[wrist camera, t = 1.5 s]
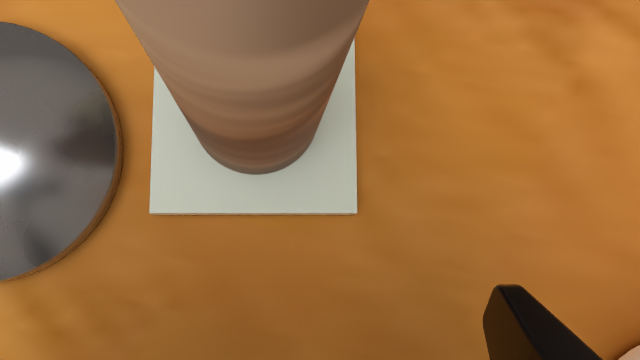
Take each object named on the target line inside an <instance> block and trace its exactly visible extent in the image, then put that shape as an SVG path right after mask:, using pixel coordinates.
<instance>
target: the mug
mask: <svg viewBox="0 0 640 360" xmlns="http://www.w3.org/2000/svg"><path fill="white" fill-rule="evenodd" d="M618 360H640V345H639V346H637V347H635V348H633V349H631V350H630V351H628V352H627V353H626V354H624V355H623V356H622V357H620V358H619V359H618Z"/></svg>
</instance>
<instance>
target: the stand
mask: <svg viewBox="0 0 640 360" xmlns="http://www.w3.org/2000/svg"><path fill="white" fill-rule="evenodd" d="M149 213H150V214H153V215H354V214H356V213H357V166H356V104H355V43H354V40H353V42H352V44H351V47H350V49H349V52H348V54H347V57H346V59H345V62H344V64H343V67H342V69H341V72H340V74H339V77H338V79H337V82H336V84H335V87H334V89H333V91H332V94H331V96H330V99H329V101H328V104H327V106H326V109H325V111H324V114H323V116H322V119H321V121H320V124H319V126H318V129H317V131H316V133H315V136H314V138H313V140H312V142H311V144H310V146H309V147H308V149H307V150H306V151H305V152H304V154H303V155H302V156H301V157H300V158H299V159H298V160H296V161H295V162H294V163H292V164H291V165H289V166H287V167H286V168H284V169H281V170H279V171H276V172H273V173H268V174H261V175H250V174H244V173H239V172H236V171H233V170H231V169H228V168H226V167H224V166H223V165H221V164H219V163H218V162H217V161H215V160H214V159H213V158H212V157H211V156H210V155H209V154H208V153H207V152H206V151H205V149H204V148H203V147H202V145H201V144H200V142H199V140H198V139H197V137H196V135H195V133H194V132H193V130H192V128H191V127H190V125H189V123H188V122H187V120H186V118H185V117H184V115H183V113H182V112H181V110H180V108H179V107H178V105H177V103H176V102H175V100H174V98H173V97H172V95H171V93H170V92H169V90H168V88H167V87H166V85H165V83H164V82H163V80H162V78H161V77H160V75H159V73H158V72H157V70H156V68H155V66H154V95H153V124H152V152H151V181H150V209H149Z"/></svg>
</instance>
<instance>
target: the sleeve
mask: <svg viewBox="0 0 640 360" xmlns="http://www.w3.org/2000/svg"><path fill="white" fill-rule="evenodd" d="M115 1H116V3H117V5H118V6H119V8H120V10H121V11H122V13H123V15H124V16H125V18H126V20H127V21H128V23H129V25H130V26H131V28H132V30H133V31H134V33H135V35H136V36H137V38H138V40H139V41H140V43H141V45H142V46H143V48H144V50H145V51H146V53H147V55H148V56H149V58H150V60H151V61H152V63H153V65H154V66H155V68H156V70H157V72H158V73H159V75H160V77H161V78H162V80H163V82H164V83H165V85H166V87H167V88H168V90H169V92H170V93H171V95H172V97H173V98H174V100H175V102H176V103H177V105H178V107H179V108H180V110H181V112H182V113H183V115H184V117H185V118H186V120H187V122H188V123H189V125H190V127H191V128H192V130H193V132H194V133H195V135H196V137H197V139H198V140H199V142H200V144H201V145H202V147H203V148H204V149H205V151H206V152H207V153H208V154H209V155H210V156H211V157H212V158H213V159H214V160H215V161H217V162H218V163H219V164H221V165H223V166H224V167H226V168H228V169H231V170H233V171H236V172H239V173H244V174H250V175H261V174H268V173H273V172H276V171H279V170H281V169H284V168H286V167H287V166H289V165H291V164H292V163H294V162H295V161H296V160H298V159H299V158H300V157H301V156H302V155H303V154H304V152H305V151H306V150H307V149H308V147H309V146H310V144H311V142H312V140H313V138H314V136H315V133H316V131H317V129H318V126H319V124H320V121H321V119H322V116H323V114H324V111H325V109H326V106H327V104H328V101H329V99H330V96H331V94H332V91H333V89H334V87H335V84H336V82H337V79H338V77H339V74H340V72H341V69H342V67H343V64H344V62H345V59H346V57H347V54H348V52H349V49H350V47H351V44H352V42H353V40H354V37H355V35H356V32H357V30H358V27H359V25H360V22H361V20H362V17H363V15H364V12H365V10H366V7H367V5H368V2H369V0H115Z"/></svg>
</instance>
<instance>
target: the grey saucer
mask: <svg viewBox="0 0 640 360" xmlns="http://www.w3.org/2000/svg"><path fill="white" fill-rule="evenodd" d="M122 161H123V141H122V132H121V127H120V123H119V118H118V115H117V113H116V110H115V107H114V105H113V102H112V101H111V99H110V97H109V95H108V93H107V91H106V90H105V88H104V87H103V85H102V84H101V83H100V81H99V80H98V79H97V77H96V76H95V75H94V74H93V73H92V72H91V71H90V70H89V69H88V68H87V67H86V66H85V65H84V64H83V63H82V62H81V61H80V60H79V59H78V58H77V57H76V56H75V55H74V54H73V53H72V52H71V51H69V50H68V49H67V48H65V47H64V46H63V45H62V44H60V43H58V42H57V41H55V40H53V39H52V38H50V37H48V36H47V35H44V34H42V33H40V32H37V31H35V30H33V29H30V28H27V27H23V26H20V25H16V24H12V23H6V22H0V282H2V281H9V280H13V279H17V278H21V277H25V276H27V275H30V274H33V273H35V272H38V271H40V270H43V269H45V268H47V267H48V266H50V265H52V264H54V263H56V262H58V261H59V260H61V259H62V258H63V257H65V256H66V255H68V254H69V253H71V252H72V251H73V250H74V249H75V248H77V247H78V246H79V245H80V244H81V243H82V242H83V241H84V240H85V239H86V238H87V237H88V236H89V235H90V234H91V232H92V231H93V230H94V229H95V228H96V227H97V225H98V224H99V222H100V221H101V219H102V218H103V216H104V215H105V213H106V212H107V210H108V208H109V206H110V204H111V202H112V199H113V197H114V195H115V192H116V189H117V186H118V183H119V179H120V174H121V169H122Z"/></svg>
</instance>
